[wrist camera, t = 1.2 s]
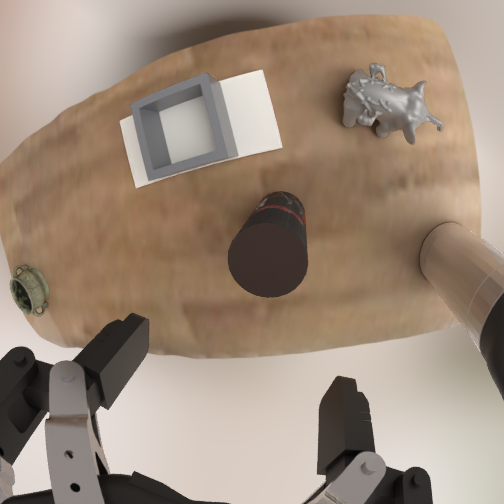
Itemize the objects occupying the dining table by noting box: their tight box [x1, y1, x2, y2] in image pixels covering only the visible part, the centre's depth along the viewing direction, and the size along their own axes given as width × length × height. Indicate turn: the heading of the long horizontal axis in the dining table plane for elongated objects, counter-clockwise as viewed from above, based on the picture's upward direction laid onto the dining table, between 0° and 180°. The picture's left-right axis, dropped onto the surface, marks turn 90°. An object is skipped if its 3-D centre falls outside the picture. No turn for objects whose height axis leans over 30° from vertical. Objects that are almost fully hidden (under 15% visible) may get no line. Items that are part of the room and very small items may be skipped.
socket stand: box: [120, 70, 283, 188], centre depth 29 cm, size 20×10×6 cm, turn 104°
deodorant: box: [228, 192, 308, 298], centre depth 28 cm, size 6×6×15 cm
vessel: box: [10, 265, 49, 317], centre depth 45 cm, size 12×9×6 cm
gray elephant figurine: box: [342, 63, 444, 145], centre depth 24 cm, size 9×12×8 cm
